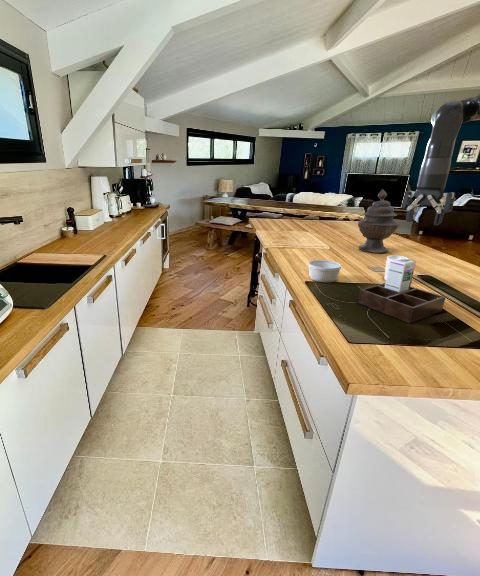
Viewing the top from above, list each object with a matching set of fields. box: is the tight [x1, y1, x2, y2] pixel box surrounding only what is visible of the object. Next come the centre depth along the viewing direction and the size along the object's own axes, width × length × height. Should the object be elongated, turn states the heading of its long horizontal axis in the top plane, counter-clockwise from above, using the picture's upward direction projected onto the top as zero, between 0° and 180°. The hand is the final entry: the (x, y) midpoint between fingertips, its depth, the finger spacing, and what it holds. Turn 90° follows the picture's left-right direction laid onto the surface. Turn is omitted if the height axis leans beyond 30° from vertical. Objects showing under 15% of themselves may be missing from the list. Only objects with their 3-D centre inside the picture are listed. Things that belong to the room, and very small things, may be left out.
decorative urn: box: [357, 188, 400, 254], centre depth 178 cm, size 20×20×35 cm
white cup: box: [383, 254, 410, 281], centre depth 134 cm, size 8×8×10 cm
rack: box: [357, 282, 447, 324], centre depth 109 cm, size 18×18×5 cm
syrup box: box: [384, 258, 417, 293], centre depth 113 cm, size 6×6×14 cm
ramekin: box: [307, 259, 342, 283], centre depth 138 cm, size 13×13×7 cm
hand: (422, 223), depth 106 cm, fingers open, 8 cm apart
